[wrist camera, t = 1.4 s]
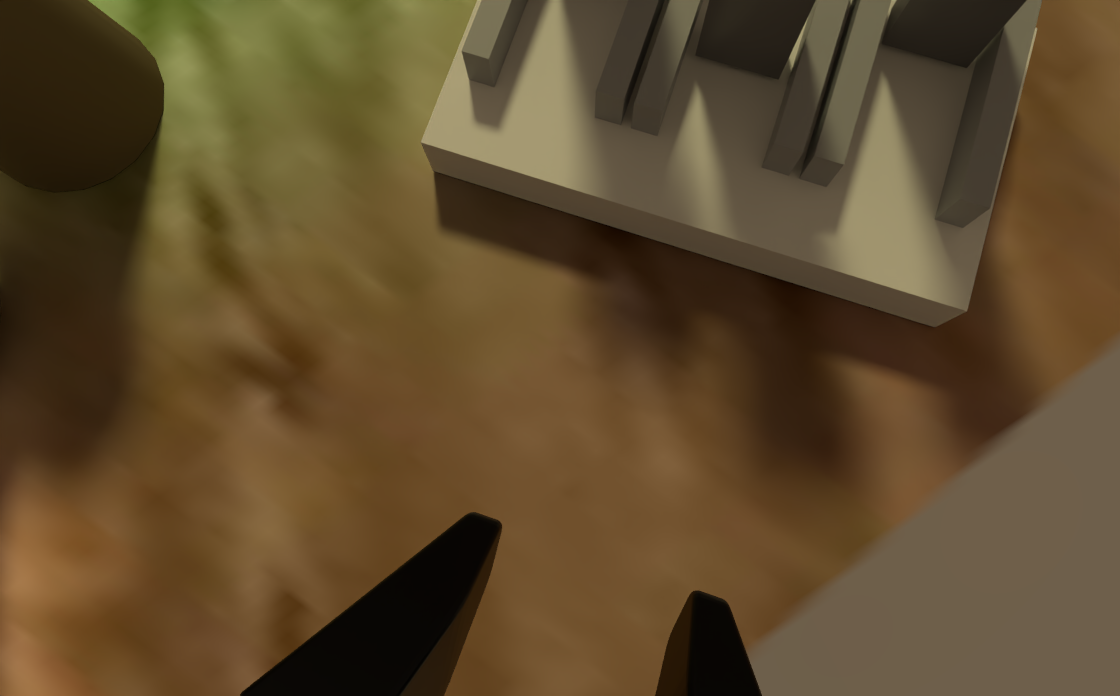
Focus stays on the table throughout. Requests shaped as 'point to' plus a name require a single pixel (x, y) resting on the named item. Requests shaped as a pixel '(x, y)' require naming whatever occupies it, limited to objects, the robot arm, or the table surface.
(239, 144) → the table surface
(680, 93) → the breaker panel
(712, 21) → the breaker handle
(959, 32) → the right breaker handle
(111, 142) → the olive pepper mill
